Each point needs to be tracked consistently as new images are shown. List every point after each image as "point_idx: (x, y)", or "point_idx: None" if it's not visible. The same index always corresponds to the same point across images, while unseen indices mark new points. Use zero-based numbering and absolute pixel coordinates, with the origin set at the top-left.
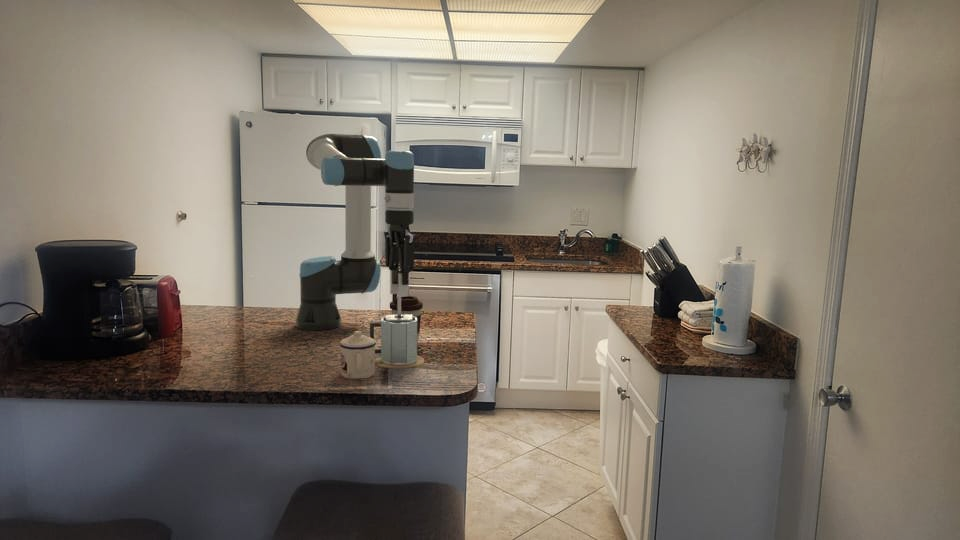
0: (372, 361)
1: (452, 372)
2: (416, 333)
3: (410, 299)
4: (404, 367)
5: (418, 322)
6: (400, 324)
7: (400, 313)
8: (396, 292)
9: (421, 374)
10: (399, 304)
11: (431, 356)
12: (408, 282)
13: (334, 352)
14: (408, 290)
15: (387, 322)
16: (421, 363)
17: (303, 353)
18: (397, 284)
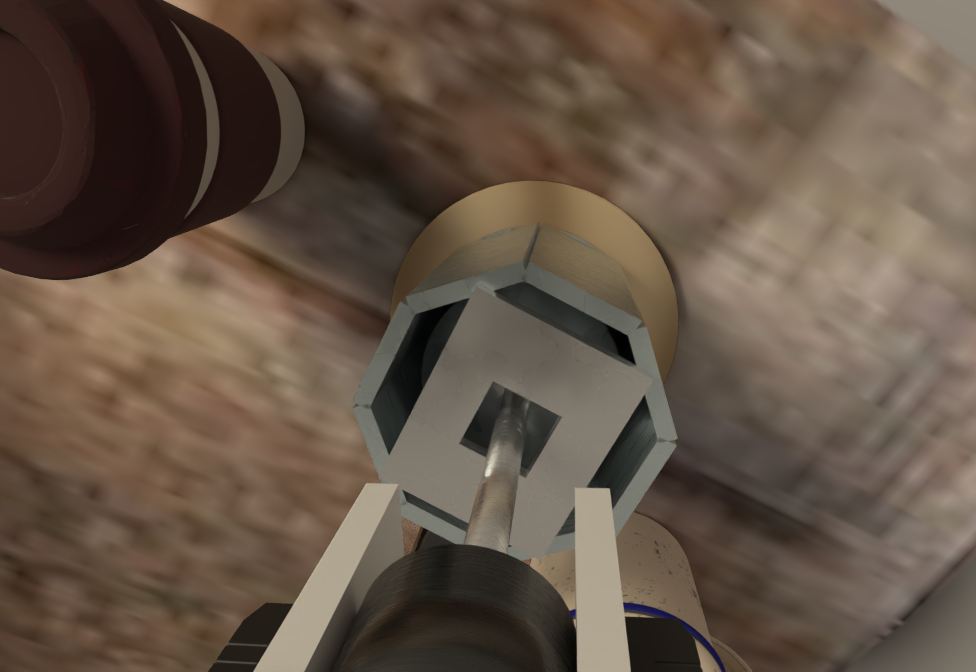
0: (691, 589)
1: (870, 148)
2: (635, 303)
3: (75, 113)
4: (662, 363)
5: (224, 52)
6: (650, 479)
7: (521, 440)
8: (399, 539)
9: (786, 321)
10: (516, 493)
11: (518, 95)
12: (696, 648)
13: (209, 516)
14: (613, 528)
15: (569, 549)
16: (652, 246)
17: (171, 631)
18: (368, 587)
